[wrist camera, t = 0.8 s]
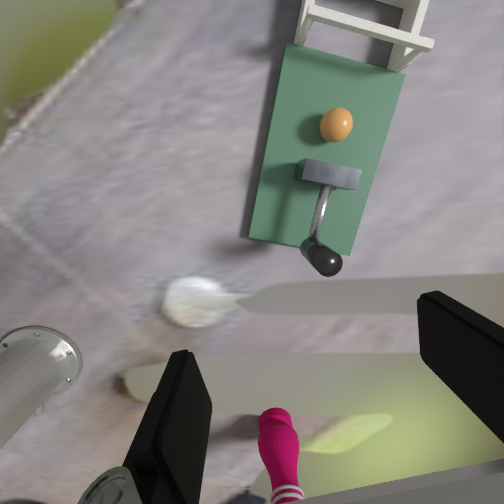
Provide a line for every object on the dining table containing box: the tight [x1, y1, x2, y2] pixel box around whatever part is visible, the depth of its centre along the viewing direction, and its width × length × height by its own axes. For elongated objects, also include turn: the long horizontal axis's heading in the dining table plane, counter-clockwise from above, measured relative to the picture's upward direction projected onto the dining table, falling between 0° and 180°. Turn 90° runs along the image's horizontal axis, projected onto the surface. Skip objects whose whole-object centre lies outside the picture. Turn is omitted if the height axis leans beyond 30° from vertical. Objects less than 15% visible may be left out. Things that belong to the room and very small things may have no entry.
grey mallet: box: [293, 158, 362, 277], centre depth 30 cm, size 12×7×11 cm, turn 169°
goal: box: [294, 0, 435, 72], centre depth 28 cm, size 9×14×7 cm, turn 79°
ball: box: [320, 107, 353, 143], centre depth 31 cm, size 4×4×4 cm
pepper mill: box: [258, 408, 304, 504], centre depth 38 cm, size 7×7×20 cm
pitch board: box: [248, 42, 405, 256], centre depth 35 cm, size 25×16×2 cm, turn 169°
